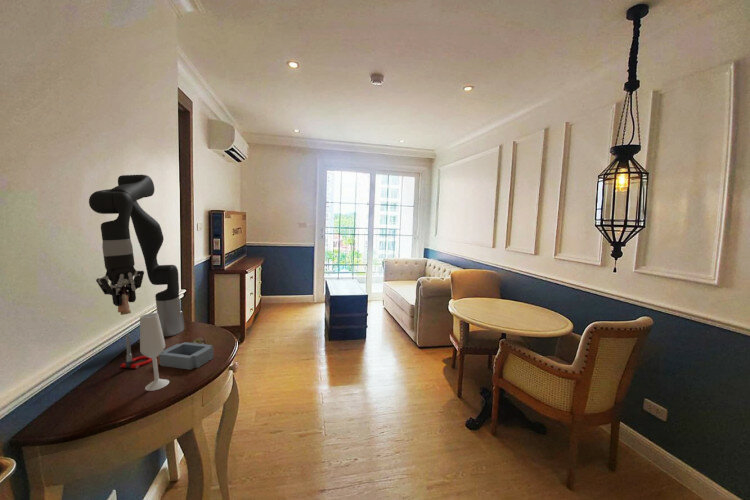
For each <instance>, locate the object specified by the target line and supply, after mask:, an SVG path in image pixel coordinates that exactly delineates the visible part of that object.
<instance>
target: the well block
mask: <svg viewBox="0 0 750 500" xmlns="http://www.w3.org/2000/svg"><path fill="white" fill-rule="evenodd" d="M214 356H215V355H214V346H213V344H207V343H205V344H198V343H190V342H187V341H184V342H182V343H176V344H174V345H171V346H170V347H167V348H164V350H163V351H162V352H161V353H160V354H159V356H158V357H159V363H160V364H159V365H160V366H161V367H167V368H168V367H169V368H175V369H181V370H189V371H190V370H192V369H194V368H196V369H198V368H200V367H202V366H203V365H205V364H206V363H208V362H209V360H210V361H212V360H213V359H214Z"/></svg>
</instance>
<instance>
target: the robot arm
mask: <svg viewBox="0 0 750 500" xmlns="http://www.w3.org/2000/svg"><path fill="white" fill-rule="evenodd" d="M117 184H118V185H117V186H115V187H113V188H111V189H110V188H109V189H102V190H97V191H94V192H93V193H92V194H90V196H89V198H88V204H89V207H90V209H91V210H92V211H93V212H95V213H97V214H102V215H112V214H115V215H117V214H118V215H117V217H116V219H113V220H108V221H105V222H101V224H100V232H101V239H102V253H103V261H104V268H105V270H106V272H105V275H104V276H102V277H98V278H96V283H97V285H98V287H100V289H101V290H102V292H103V294H104V295H109V296H110V295H111V298H112V304H113V305H114V306H116V307H118V306H121V305H122V301H121V295H119V294H120V288H121V287H122V281H123V279H127V280H129V282H128V283H126V285H125V286H126V288H127V291H128V303H135V302H136V300H137V295H136V294H137V293H136V291H137V289H140V288H141V287H142V283H143V279H144V274H145V271H144V270H136V268H135V267H134V266H135V257H134V249H133V243H132V239H131V231H130V219H131V222H132V225H133V228H134V232H135V235H136V238H137V241H138V243H139V247H140V250H141V253H142V256H143V260H144V264H145V269H146V273H147V274H146V275H147V278H148V280H149V282H150V283H151V285H153V286H162V285H166V289H165V290H164V289H163V290H162V291H159V292H157V293H156V294H155V297H154V298H155V305H156V313H157V314H158V316H159V320H160V324H161V328H162V332H163V337H164V338H165V337H171V336H176V335H178V334H181V333H182V332H183V331H184V330H185V321H184V313H183V311H182V309H181V303H180V302H181V301H180V285H179V284H180V283H179V280H180V279H179V278H180V277H179V270H178V268H177V266H176V264H175V265H174V264H163V265H162V264H161V265H160V264H159V263H158V258H157V257H158V254H159V252H160V249H161V247H162V245H163V243H164V234H163V230H162V227H161V225H160V223H159V222H158V221H157V220H156V219H155V218H153V217H152V215H150V214H149V213H147V212H146V211H145V210H144V209H143V207H141V205H140V203H138V201H139V200H141V199H144V198H149V197H152V196H153V195H155V194H154V193H155V184H154V181H153V179H152V177H151V176H149V175H146V174H124V175H123V174H121V175H120V176H118V178H117ZM109 283H110V284H109Z"/></svg>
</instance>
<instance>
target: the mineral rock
mask: <svg viewBox="0 0 750 500" xmlns="http://www.w3.org/2000/svg"><path fill="white" fill-rule="evenodd" d="M189 343H198V344H206V341H205V339H203V337H196V338H194V339H193V340H191V341H190V342H189Z"/></svg>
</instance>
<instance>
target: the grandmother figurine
mask: <svg viewBox="0 0 750 500" xmlns="http://www.w3.org/2000/svg"><path fill="white" fill-rule="evenodd" d="M128 282H129V280H127V279H123V281H122V287H121V288H120V294H119V295H121V301H122V305H121V306H117V313H120V315H121V316H124V315H128V314H129V315H130V314H131V313H132V310H131V309H130V303H129V302H128V290H127V288H126V286H125V285H126V283H128Z"/></svg>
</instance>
